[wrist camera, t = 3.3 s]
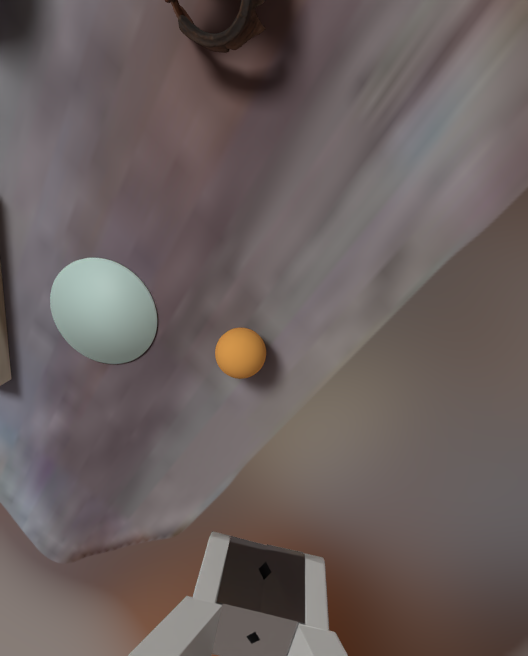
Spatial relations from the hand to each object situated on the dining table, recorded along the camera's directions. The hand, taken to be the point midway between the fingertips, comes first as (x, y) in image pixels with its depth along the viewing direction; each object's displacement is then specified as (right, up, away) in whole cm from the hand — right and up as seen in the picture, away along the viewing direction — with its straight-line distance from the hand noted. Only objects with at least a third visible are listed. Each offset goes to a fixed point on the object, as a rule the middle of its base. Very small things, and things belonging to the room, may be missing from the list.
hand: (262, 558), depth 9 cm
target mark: (-19, +8, +32) cm, 38 cm away
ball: (-2, +3, +29) cm, 29 cm away
